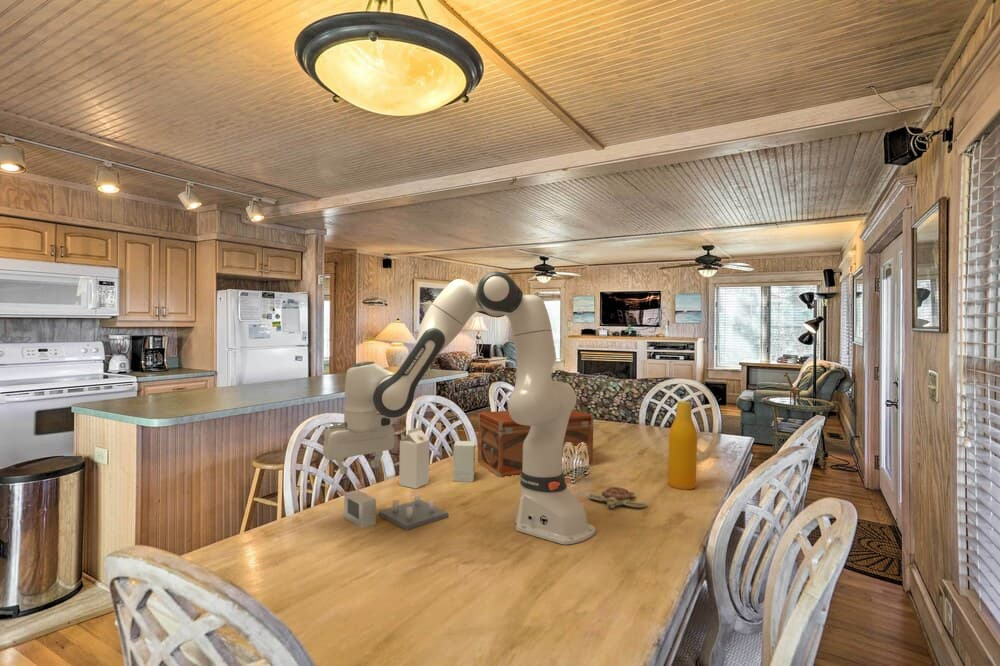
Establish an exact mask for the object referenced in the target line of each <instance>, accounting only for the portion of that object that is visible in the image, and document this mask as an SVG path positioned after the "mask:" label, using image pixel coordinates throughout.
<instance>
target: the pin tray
mask: <svg viewBox="0 0 1000 666" xmlns="http://www.w3.org/2000/svg"><path fill="white" fill-rule="evenodd" d="M378 516H380V517H381V518H383V519H385V520H387V521H389V522H391V523H393V525H394V524H395V525H396V526H398V527H400V528H401V529H404V530H405V531H408V530H412V529H415V528H417V527H418V528H419V527H421V526H424V525H427V524H432V523H434V522H437V521H441V520H443V519H446V518H448V517H449V512H448V511H447V510H443V509H441V508H439V507H437V506H435V500H429V501H428V502H426V501H424V500H421V494H419V493H416V494H415V495H414V501H413V500H412V501H410V502H406V503H402V504H399V500H397V499H394V500H392V507H389V508H385V509H381V510H378Z"/></svg>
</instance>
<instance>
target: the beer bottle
mask: <svg viewBox="0 0 1000 666" xmlns="http://www.w3.org/2000/svg"><path fill="white" fill-rule="evenodd" d="M675 412H676V413H675V416H674V417H675V419H674V420H673V423H672V424H671V426H670V428H669V433H668V434H669V435H668V464H667V465H668V467H667V470H668V471H667V485H668V486H669V487H672V488H673V487H674V488H673V489H677V488H678V490H683V489H690V490H694V489H695V488H696V485H697V456H698V454H697V453H698V434H697V433H698V432H697V430H696V427H695V424H694V422H693V418H692V404H691V402H690V401H682V400H681V401H677V404H676V411H675ZM693 488H694V489H693Z"/></svg>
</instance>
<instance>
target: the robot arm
mask: <svg viewBox="0 0 1000 666" xmlns="http://www.w3.org/2000/svg"><path fill="white" fill-rule="evenodd" d="M476 313H480V314H483V315H486V316H489V317H492V318H501V317H502V318H503V317H507V318H508V320H509V322H510V324H511V329H512V330H511V331H512V337H513V344H514V351H515V356H516V357H515V358H516V375H515V380H514V381H515V382H514V387H513V390H512V393H511V394H510V396H509V398H508V401H507V411H509V414H510V416H511V418H512V419H513V420H514V421H515V422H516V423H518V424H520V425H526V426H531V428H530V431H529V433H528V435H527V437H526V438H525V440H524V443H523V462H522V470H521V475H519V479H520V485H521V489H520V498H519V504H518V509H517V513H516V516H515V520H514V521H515V524H516V526H515V530H516V531H517V532H519V533H523V534H526V535H529V536H532V537H533V536H534V537H537V538H539V539H544V540H547V541H551V542H553V543H556V544H561V545H572V544H577V543H580V542H583V541H585V540H587V539H590V538H591V537H592V536H594V535H595V534H596V526H594V525H592V524H591V523H588V521H587V520H588V518H587V512H586V508H585V506H584V505H583V504H582V503H581V502H580V501H579V499H578V498H576V497H575V495H574V494H573V493H572V492H571V491H570V489H568V483H571V481H570V479H571V477H569V478H568V477H567V478H566V476H565V474H564V472H563V470H562V456H563V443H564V437H565V433H566V429H567V425H568V421H569V417H570V415H571V412H572V411H573V409H574V410H575V407H576V405H577V395H576V392H575V390H574V388H573V387H572V386H571V385H570V384H568V383H566V382H563V381H558V380H552V372H553V366H554V364H555V362H556V360H557V354H556V347H555V342H554V336H553V328H552V324H551V321H550V316H549V312H548V309H547V306H546V304H545V302H544V299H542V298H541V296H538V295H536V294H523V291H522V289H521V288H520V287H519V286H518V285H517V283H516V281H515V280H514V279H513V278H512V277H511V276H510V275H508V274H507V273H505V272H502V271H491V272H489V273H487V274H485V275H484V276H483V277H482V278H481V279H480V280H479V282H478V284H472V283H471V282H470V281H468V280H466V279H460V278H458V279H457V278H456V279H454V280H452V281H450V283H448V285H446V287H445V288H443V290H442V291H440V293H439V294H438V295H437V297H436V298H435V299H434V300H433V301H432V303H431V304H430V306H429V307H428V309H427V310H426V312H425V314H424V316H423V319H422V320H421V322H420V324H419V330H418V333H417V337H416V338H417V339H416V341H415V343H414V346H413V348H412V349H411V350H410V352H409V354H408V355H407V357H406V358H405V360H404V361H403V362H402V364H401V365H400V367H399V368H398V369H397V371H396V372H392V371H391V370H387V369H385V368H384V367H382V366H380V365H378V364H377V363H376V362H374V361H363V362H357V363H354V364H352V365H351V366H349V368H347V370H346V374H345V383H344V397H345V405H344V411H343V422H340V423H339V422H338V423H332V424H329V426H327V427H326V428H325V429H324V432H323V438H324V441H323V446H322V447H323V448H322V456H323V457H324V458H325V459H326V460H329V461H334V460H335V462H336V464H337V466H338V467H339V474H340V475H346V474H348V472H349V471H348V469H349V467H347V466H346V465H344V462H345V459H347V458H353V457H358V456H363V455H368V454H375V456H374V458H373V460H371V461H370V467H371V468H372V469H374V468H375V469H376V468H379V463H380V460H381V458H382V457H383V454H384V452H385V451H390V450H392V449H393V448H394V447H395V444H396V443H395V442H396V440H395V439H396V435H395V433H396V432H395V429H394V427H393V425H394V418H399V417H402V416H404V415H406V413H408V411H409V410H410V409H411V407H412V405H413V402H414V397H415V391H416V389H417V386H418V384H419V382H420V381H421V380H422V379H423V377H424V375H425V374H426V372H427V371H428V370H429V368H430V366H431V365H432V363H433V362H434V360H435V359H436V358H437V357H438V356H439V354H441V352H442V351H443V350H445V348H447V347H448V346H449V345H450V343H452V342H453V341H454V340H455V338H457V336H458V335H459V334H460V332H461V331H463V328H465V327H464V326H465V325H466V324H467V323H468V321H469V320H470V318H471V317H472V316H473V315H474V314H476Z"/></svg>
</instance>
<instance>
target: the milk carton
mask: <svg viewBox="0 0 1000 666" xmlns="http://www.w3.org/2000/svg"><path fill="white" fill-rule="evenodd" d="M398 471H399V476H398V479H399V481H398V483H399V486H402V487H405V488H410V489H411V488H412V489H418V488H420V487H423V486H426V485H427V484H429V483H430V480H429V478H430V477H429V475H430V472H429V471H430V439H429V437H428V436H427V435H426V433H424V431H423V430H422V426H419V427H415V428H412V429H408V430H407V434H406V435H405V436H404V437H403V438H401V439H400V440H399V469H398Z"/></svg>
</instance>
